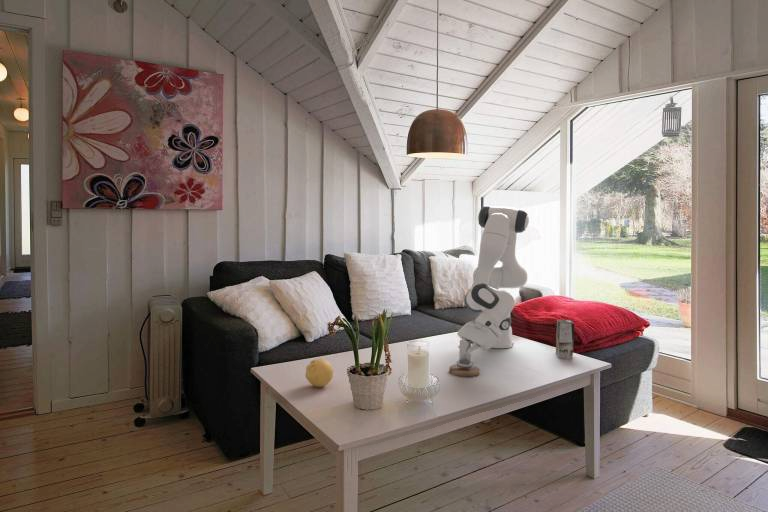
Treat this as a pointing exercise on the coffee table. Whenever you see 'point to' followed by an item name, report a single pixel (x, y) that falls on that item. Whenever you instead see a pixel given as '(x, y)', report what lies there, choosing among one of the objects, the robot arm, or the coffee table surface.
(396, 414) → the coffee table surface
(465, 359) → the knob
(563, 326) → the coffee box
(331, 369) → the stress ball
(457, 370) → the base disc
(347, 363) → the coffee table surface
